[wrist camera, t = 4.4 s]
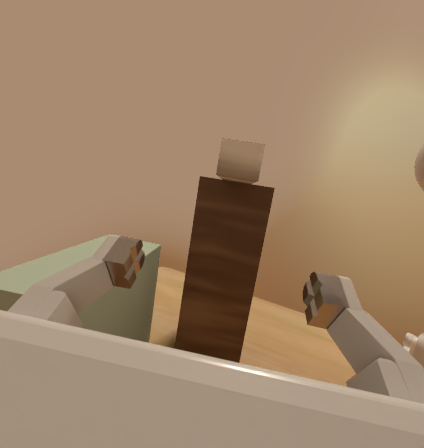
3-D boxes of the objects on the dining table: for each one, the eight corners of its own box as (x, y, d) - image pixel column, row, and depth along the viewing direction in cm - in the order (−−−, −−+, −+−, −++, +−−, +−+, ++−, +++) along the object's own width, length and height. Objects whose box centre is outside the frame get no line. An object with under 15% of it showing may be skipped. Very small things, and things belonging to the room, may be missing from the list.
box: (63, 493, 17) (75, 306, 15) (-29, 467, 18) (-33, 282, 15) (148, 344, 34) (161, 244, 31) (99, 333, 35) (107, 234, 32)
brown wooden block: (231, 398, 28) (274, 188, 23) (169, 383, 28) (199, 176, 24) (233, 329, 41) (260, 189, 37) (191, 320, 42) (213, 181, 38)
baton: (262, 181, 16) (270, 137, 15) (212, 173, 16) (218, 130, 15) (247, 187, 37) (250, 168, 37) (225, 183, 38) (229, 165, 37)
